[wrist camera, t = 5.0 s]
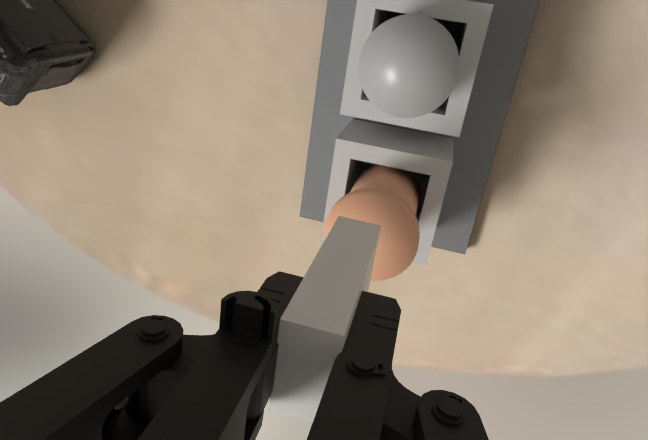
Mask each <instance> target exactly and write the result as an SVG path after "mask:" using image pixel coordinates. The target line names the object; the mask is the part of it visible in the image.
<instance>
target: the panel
mask: <svg viewBox="0 0 648 440" xmlns="http://www.w3.org/2000/svg"><path fill="white" fill-rule="evenodd" d="M538 3H539V0H328V1H327V9H326V17H325V25H324V32H323V40H322V48H321V56H320V63H319V71H318V79H317V87H316V95H315V102H314V110H313V118H312V126H311V133H310V141H309V149H308V157H307V164H306V172H305V180H304V188H303V195H302V203H301V211H300V217H304V218H308V219H313V220H317V221H321V222H323V228H322V235H321V241H324V236H323V232H324V225H325V221H326V219H327V216H328V215H329V213H330V211H331V210H332V208H333V206H334V205H335V204H336V202H337V201H338V200H339V199H340V198H342V197H343V196H344V195H346V194H348V193H350V191H351V189H352V187H353V186H354V184H355V182H356V180H357V178H358V177H359V176H360V174H361V173H362V172H363V171H364V170H366V169H367V168H369V167H371V166H373V165H377V164H378V165H383V166H388V167H393V168H398V169H402V170H406V171H407V172H408V173H409V174H410V175H411V176H412V177H413V178H414V180H415V182H416V184H417V186H418V191H419V200H418V206H417V211H416V218H417V220H418V223H419V229H420V238H419V245H418V250H417V253H416V256H415V258H414V260H413V261H412V262H413V263H417V264H422V265H426V264H427V260H428V257H429V253H430V249H431V247H435V248H439V249H444V250H448V251H453V252H457V253H461V254H465V253H466V249H467V246H468V242H469V239H470V235H471V232H472V229H473V225H474V222H475V218H476V215H477V212H478V208H479V205H480V201H481V198H482V195H483V191H484V188H485V184H486V181H487V177H488V174H489V171H490V167H491V164H492V160H493V157H494V154H495V150H496V147H497V143H498V140H499V137H500V133H501V130H502V126H503V123H504V119H505V116H506V113H507V109H508V106H509V102H510V99H511V96H512V92H513V89H514V85H515V82H516V79H517V75H518V72H519V68H520V65H521V61H522V58H523V55H524V51H525V48H526V44H527V41H528V38H529V34H530V31H531V27H532V24H533V21H534V17H535V14H536V10H537V7H538ZM405 14H419V15H423V16H427V17H430V18H432V19H434V20H436V21H437V22H439V23H440V24H441V25H443V26H444V27H445V28H446V29H447V30H448V32H449V33H450V34H451V36H452V37H453V39H454V41H455V43H456V46H457V49H458V54H459V73H458V78H457V81H456V84H455V87H454V89H453V91H452V92H451V94H450V96H449V97H448V98H447V99H446V101H445V102H444V103H443V104H442V105H441V106H439V107H438V108H437V109H435V110H434V111H432V112H430V113H428V114H426V115H423V116H420V117H415V118H399V117H394V116H391V115H388V114H386V113H384V112H382V111H381V110H379V109H378V108H377V107H375V106H374V105H373V104H372V103H371V102H370V100H369V99H368V98H367V96H366V95H365V93H364V91H363V89H362V86H361V83H360V80H359V73H358V65H359V57H360V53H361V50H362V48H363V45H364V43H365V41H366V40H367V38H368V37H369V35H370V34H371V33H372V32H373V31H374V30H375V29H376V28H377V27H378V26H379V25H381V24H382V23H384V22H385V21H387V20H389V19H391V18H394V17H397V16H400V15H405Z"/></svg>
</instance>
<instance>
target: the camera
mask: <svg viewBox="0 0 648 440" xmlns="http://www.w3.org/2000/svg"><path fill="white" fill-rule="evenodd" d="M94 52H95V47H94V46H93V44H92V43H91V42H90V41H89V40H88V39H87V37H86V36H85V35H84V34H83V33H82V32H81V31H80V29H79V28H78V27H77V26H76V25H75V24H74V23H73V22H72V20H71V19H70V18H69V17H68V16H67V15H66V14H65V13H64V12H63V10H62V9H61V8H60V7H59V6H58V5H57V4H56V3H55V2H54V1H53V0H0V101H1V102H3V103H4V104H5V105H8V106H12V105H18V104H19V103H20V102H21V101H22V100H23V99H24V97H25V96H26V95H27V94H28V93H30V92H34V91H38V90H43V89H50V88H54V87H58V86H62V85H66V84H68V83H70V82H72V81H73V80H74V78H75V77H76V76H77V75H78V74H79V73H80V72H81V70H82V69H83V68H84V67H85V65H86V64H87V63H88V61H89V60H90V58H91V57H92V55H93V54H94Z"/></svg>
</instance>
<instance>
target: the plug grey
mask: <svg viewBox="0 0 648 440" xmlns="http://www.w3.org/2000/svg"><path fill="white" fill-rule="evenodd" d="M358 73H359V80H360V83H361V86H362V89H363V91H364V93H365V95H366V96H367V98H368V99H369V100H370V102H371V103H372V104H373V105H374V106H375V107H377V108H378V109H379V110H381V111H382V112H384V113H386V114H388V115H391V116H394V117H399V118H415V117H420V116H423V115H426V114H428V113H430V112H432V111H434V110H435V109H437V108H438V107H439V106H441V105H442V104H443V103H444V102H445V101H446V99H447V98H448V97H449V96H450V94H451V92H452V91H453V89H454V87H455V84H456V81H457V78H458V73H459V54H458V49H457V46H456V43H455V41H454V39H453V37H452V36H451V34H450V33H449V32H448V30H447V29H446V28H445V27H444V26H443V25H441V24H440V23H439V22H437V21H436V20H434V19H432V18H430V17H427V16H423V15H419V14H405V15H400V16H397V17H394V18H391V19H389V20H387V21H385V22H384V23H382V24H381V25H379V26H378V27H377V28H376V29H375V30H374V31H373V32H372V33H371V34H370V35H369V37H368V38H367V40H366V41H365V43H364V45H363V48H362V50H361V53H360V57H359V65H358Z"/></svg>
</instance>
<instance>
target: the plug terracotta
mask: <svg viewBox="0 0 648 440" xmlns="http://www.w3.org/2000/svg"><path fill="white" fill-rule="evenodd" d="M418 200H419V191H418V186H417V184H416V182H415V180H414V178H413V177H412V176H411V175H410V174H409V173H408V172H407V171H406V170H402V169H398V168H393V167H388V166H383V165H378V164H377V165H373V166H371V167H369V168H367V169H366V170H364V171H363V172H362V173H361V174H360V176H359V177H358V178H357V180H356V182H355V184H354V186H353V187H352V189H351V191H350V193H348V194H346V195H344V196H343V197H342V198H340V199H339V200H338V201H337V202H336V204H335V205H334V206H333V208H332V210H331V211H330V213H329V215H328V216H327V219H326V221H325V225H324V232H323V236H324V241H325V239H326V237H327V236H328V234H329V232H330V230H331V229H332V227H333V225H334V223H335V222H336V220H337V218H338V216H342V217H346V218H351V219H355V220H360V221H364V222H368V223H373V224H377V225H381V230H380V235H379V240H378V245H377V250H376V254H375V259H374V264H373V269H372V274H371V279H370V280H371V281H378V280H385V279H389V278H392V277H394V276H397V275H398V274H400V273H402V272H403V271H404V270H405V269H407V268H408V266H409V265H410V264H411V263H412V261H413V260H414V258H415V256H416V253H417V250H418V245H419V238H420V229H419V223H418V220H417V218H416V211H417V206H418Z"/></svg>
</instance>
